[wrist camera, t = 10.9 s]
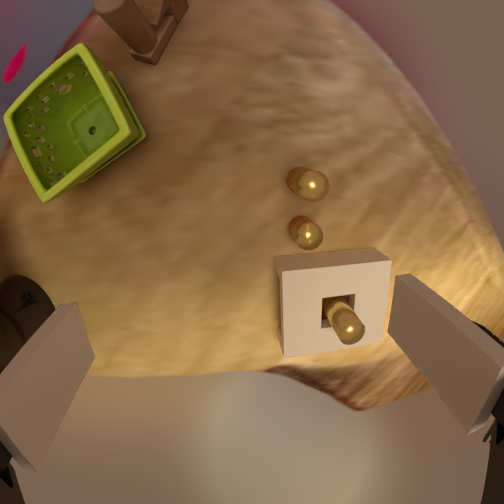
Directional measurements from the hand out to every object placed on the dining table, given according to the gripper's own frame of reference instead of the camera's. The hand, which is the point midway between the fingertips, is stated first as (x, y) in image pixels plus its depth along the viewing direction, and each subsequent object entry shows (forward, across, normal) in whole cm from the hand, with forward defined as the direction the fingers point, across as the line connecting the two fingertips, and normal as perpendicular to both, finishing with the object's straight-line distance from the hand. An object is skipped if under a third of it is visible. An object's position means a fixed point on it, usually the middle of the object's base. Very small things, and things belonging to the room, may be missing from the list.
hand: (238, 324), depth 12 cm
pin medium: (+33, +10, +2) cm, 34 cm away
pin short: (+33, +10, -5) cm, 35 cm away
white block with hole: (+33, +14, -16) cm, 39 cm away
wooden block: (+33, -8, +26) cm, 43 cm away
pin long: (+33, +14, -16) cm, 39 cm away
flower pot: (+33, -18, +13) cm, 40 cm away
